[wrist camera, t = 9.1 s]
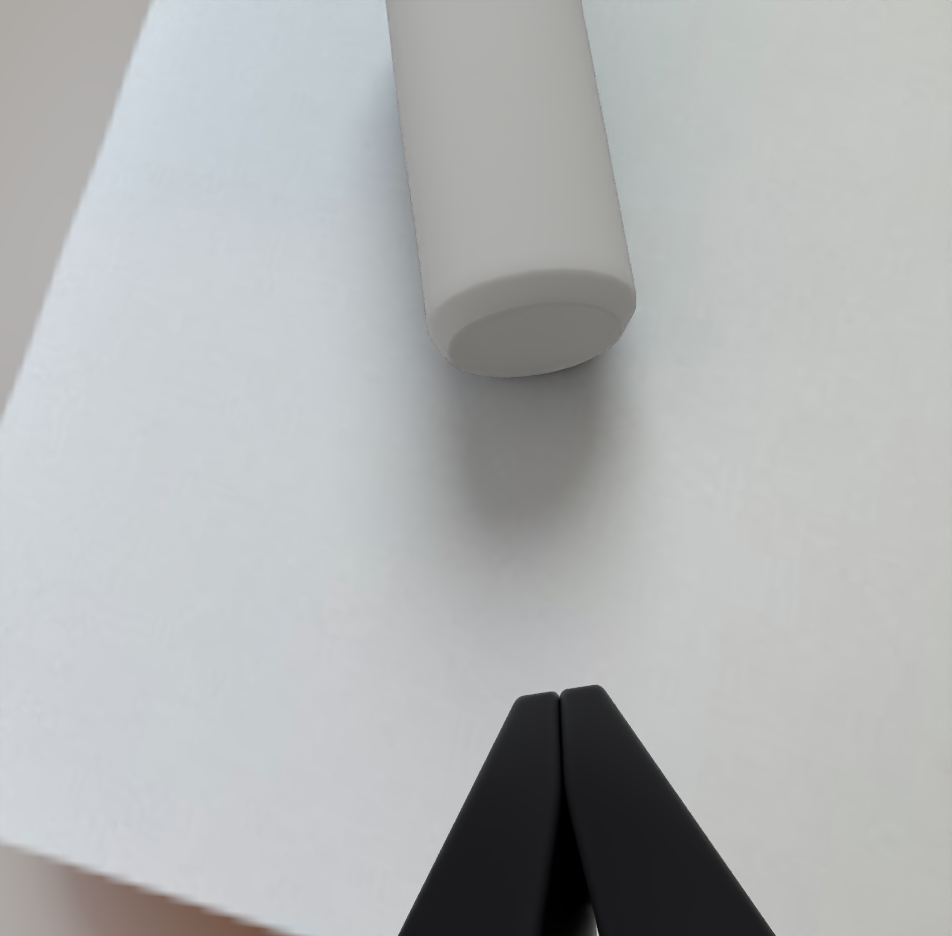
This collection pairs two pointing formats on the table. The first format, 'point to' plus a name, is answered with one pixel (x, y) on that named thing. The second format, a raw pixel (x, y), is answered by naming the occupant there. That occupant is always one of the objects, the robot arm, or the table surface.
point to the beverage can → (510, 184)
